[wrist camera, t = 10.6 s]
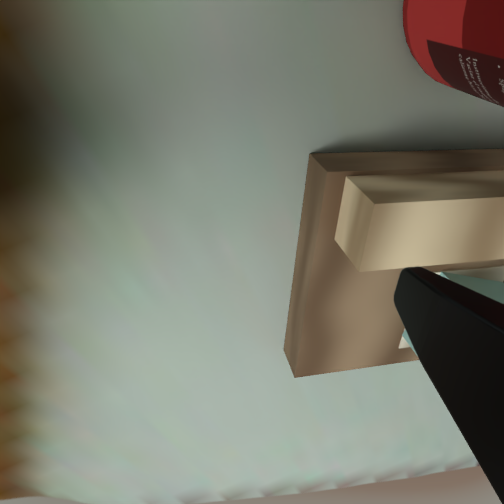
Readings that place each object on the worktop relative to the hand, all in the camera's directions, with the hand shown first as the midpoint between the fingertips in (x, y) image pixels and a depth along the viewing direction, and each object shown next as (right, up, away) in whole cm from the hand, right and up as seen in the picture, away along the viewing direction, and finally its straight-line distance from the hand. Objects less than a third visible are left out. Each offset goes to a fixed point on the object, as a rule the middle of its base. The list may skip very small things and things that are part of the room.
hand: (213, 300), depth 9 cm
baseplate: (+10, +1, +18) cm, 21 cm away
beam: (+11, +4, +14) cm, 18 cm away
